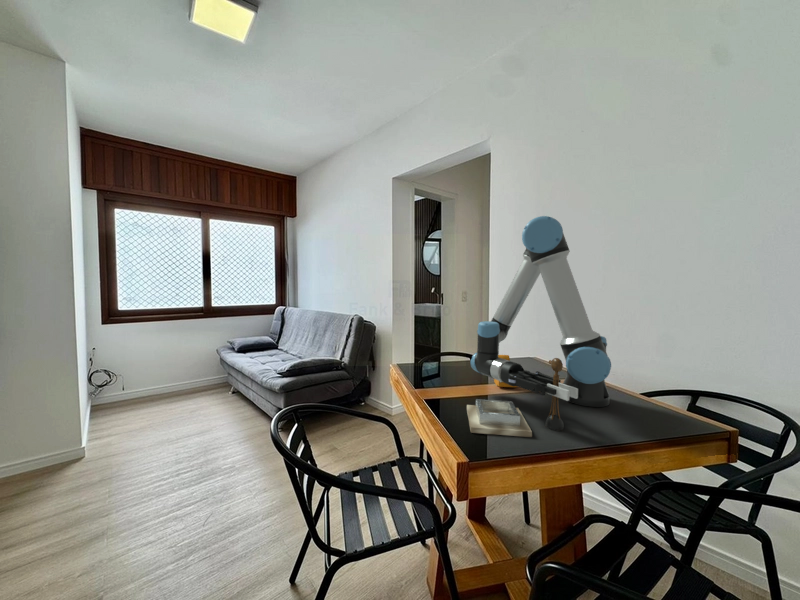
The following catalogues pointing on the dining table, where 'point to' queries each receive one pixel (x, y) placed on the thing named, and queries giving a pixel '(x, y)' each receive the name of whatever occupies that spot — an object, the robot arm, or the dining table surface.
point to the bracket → (497, 382)
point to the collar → (497, 418)
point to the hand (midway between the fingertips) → (572, 394)
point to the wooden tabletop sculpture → (555, 399)
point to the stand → (497, 429)
